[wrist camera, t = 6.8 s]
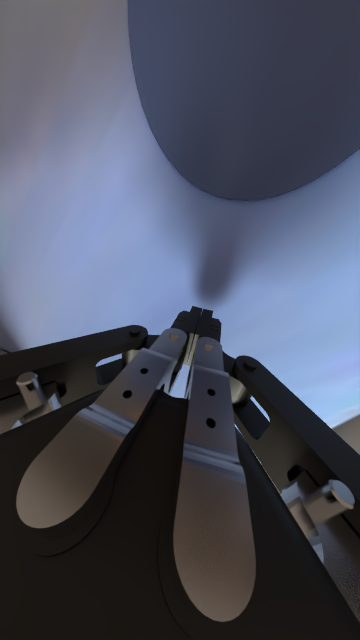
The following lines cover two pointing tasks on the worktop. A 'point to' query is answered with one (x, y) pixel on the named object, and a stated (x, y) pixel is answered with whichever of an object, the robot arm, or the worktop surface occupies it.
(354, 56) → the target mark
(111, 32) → the worktop surface
